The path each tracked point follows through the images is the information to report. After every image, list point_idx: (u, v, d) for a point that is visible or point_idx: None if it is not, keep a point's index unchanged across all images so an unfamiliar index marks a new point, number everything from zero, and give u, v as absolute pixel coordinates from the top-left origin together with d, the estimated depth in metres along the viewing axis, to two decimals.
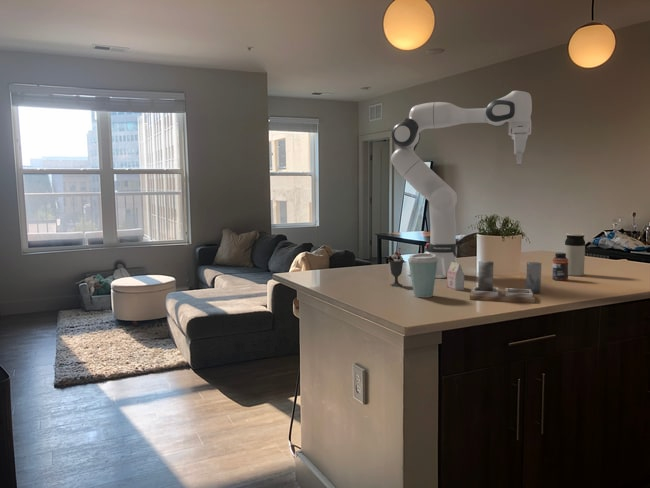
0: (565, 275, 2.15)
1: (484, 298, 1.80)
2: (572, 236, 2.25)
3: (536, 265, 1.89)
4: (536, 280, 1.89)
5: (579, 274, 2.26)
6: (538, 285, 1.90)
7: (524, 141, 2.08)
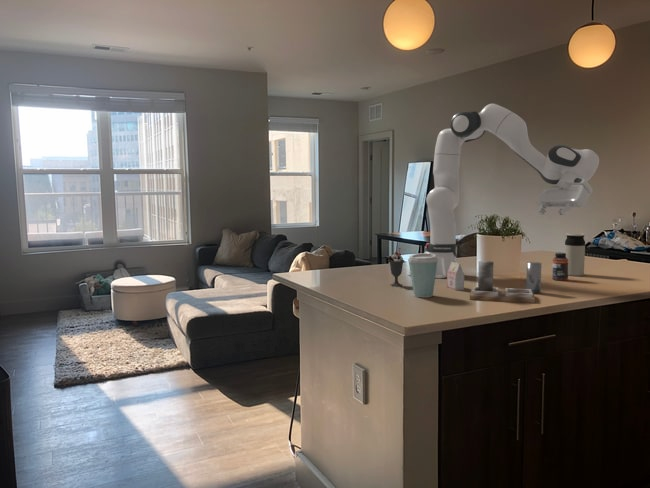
0: (565, 275, 2.15)
1: (484, 298, 1.80)
2: (572, 236, 2.25)
3: (536, 265, 1.89)
4: (536, 280, 1.89)
5: (579, 274, 2.26)
6: (538, 285, 1.90)
7: (587, 199, 1.88)
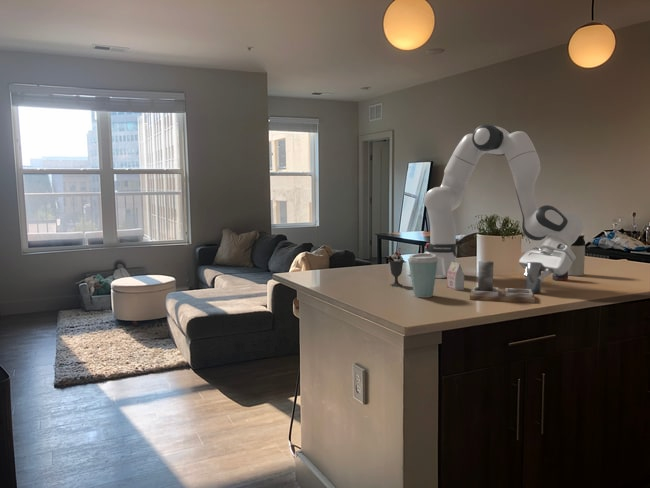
0: (565, 275, 2.15)
1: (484, 298, 1.80)
2: None
3: (536, 264, 1.89)
4: (536, 280, 1.89)
5: (579, 274, 2.26)
6: (538, 285, 1.90)
7: (569, 266, 1.85)
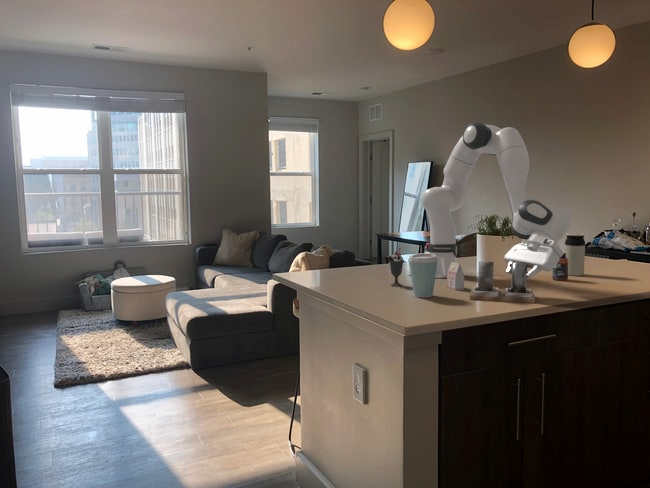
0: (565, 275, 2.15)
1: (484, 298, 1.80)
2: (572, 236, 2.25)
3: (521, 265, 1.78)
4: (521, 281, 1.79)
5: (579, 274, 2.26)
6: (523, 287, 1.79)
7: (556, 263, 1.74)
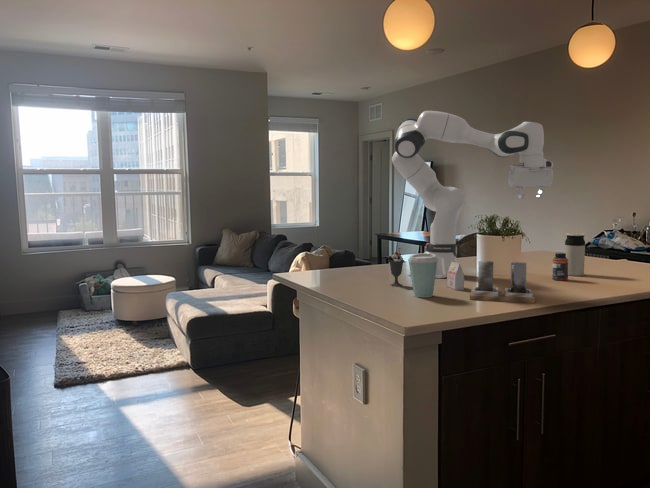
0: (565, 275, 2.15)
1: (484, 298, 1.80)
2: (572, 236, 2.25)
3: (520, 265, 1.78)
4: (521, 281, 1.79)
5: (579, 274, 2.26)
6: (523, 286, 1.79)
7: None
